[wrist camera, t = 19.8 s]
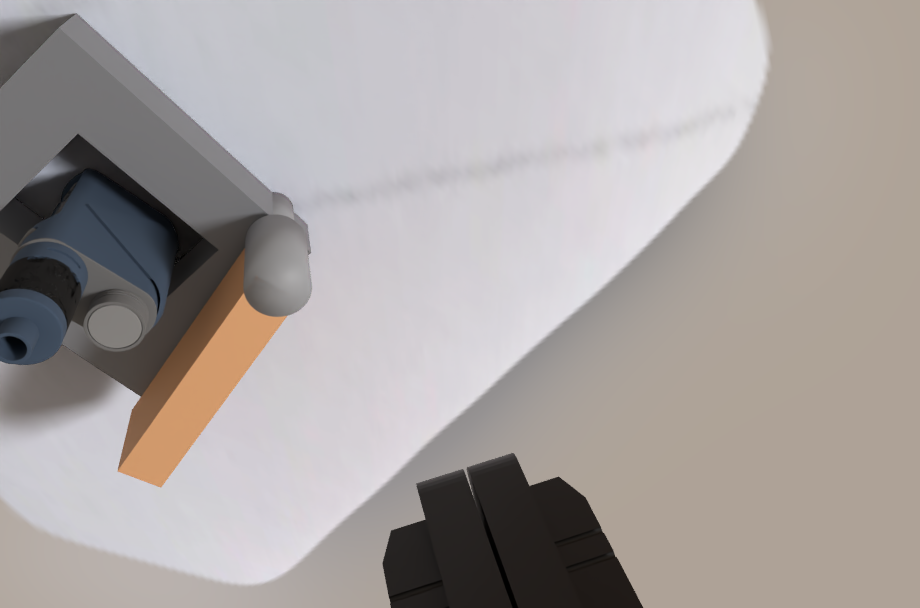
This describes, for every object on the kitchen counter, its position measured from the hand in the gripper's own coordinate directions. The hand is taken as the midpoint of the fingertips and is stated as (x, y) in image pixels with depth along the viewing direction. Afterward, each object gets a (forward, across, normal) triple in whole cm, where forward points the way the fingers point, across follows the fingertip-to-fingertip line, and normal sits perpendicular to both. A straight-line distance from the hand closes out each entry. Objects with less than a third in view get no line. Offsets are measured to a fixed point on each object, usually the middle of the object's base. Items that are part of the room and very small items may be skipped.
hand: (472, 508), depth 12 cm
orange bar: (+21, +7, +8) cm, 23 cm away
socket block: (+25, +10, +3) cm, 27 cm away
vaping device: (+25, +10, +3) cm, 27 cm away
